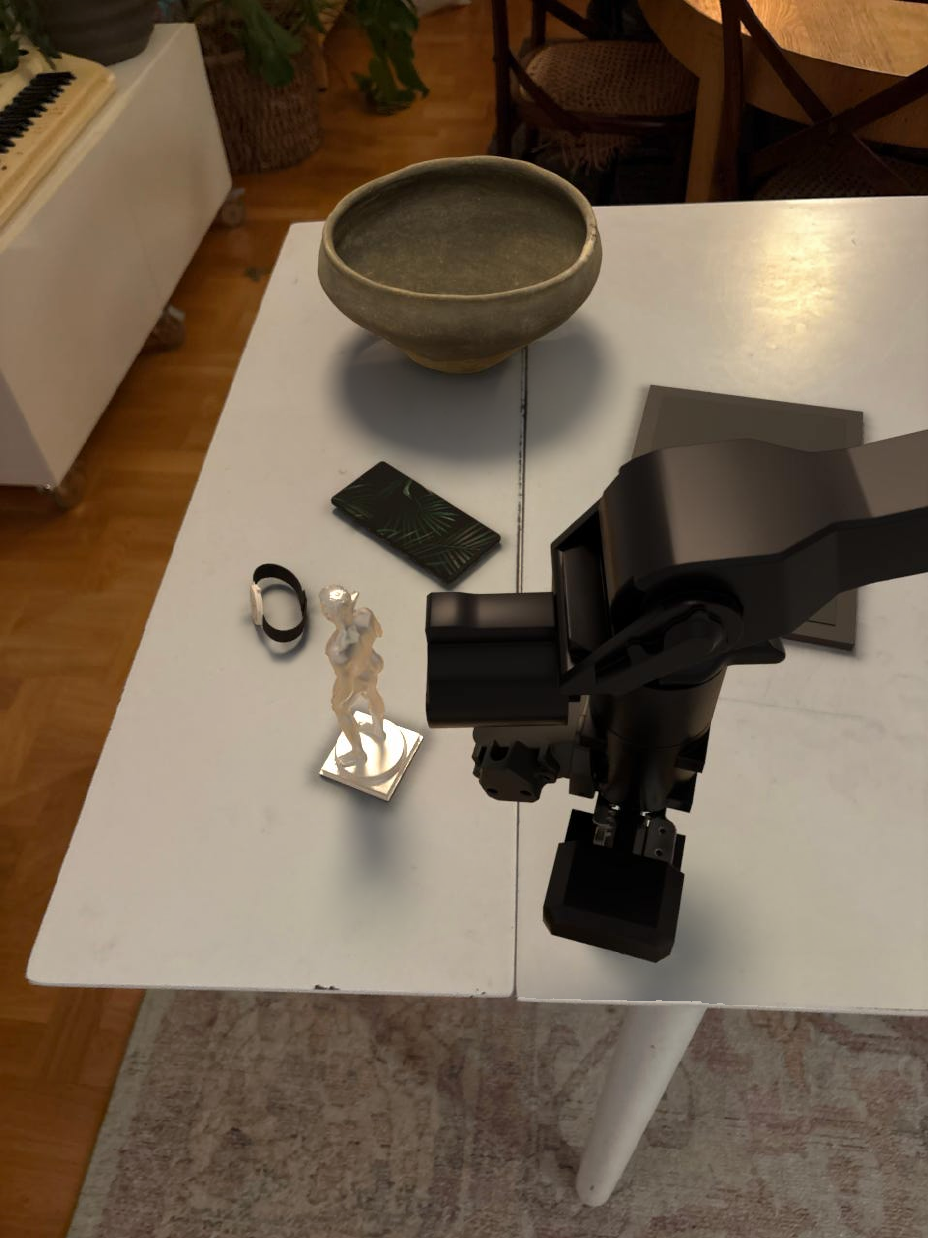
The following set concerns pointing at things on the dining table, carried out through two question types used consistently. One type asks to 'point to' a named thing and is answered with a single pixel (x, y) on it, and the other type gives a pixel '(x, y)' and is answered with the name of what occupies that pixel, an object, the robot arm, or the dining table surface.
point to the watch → (257, 606)
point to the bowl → (461, 258)
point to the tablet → (782, 423)
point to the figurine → (367, 743)
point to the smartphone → (416, 521)
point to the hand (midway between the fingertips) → (625, 836)
